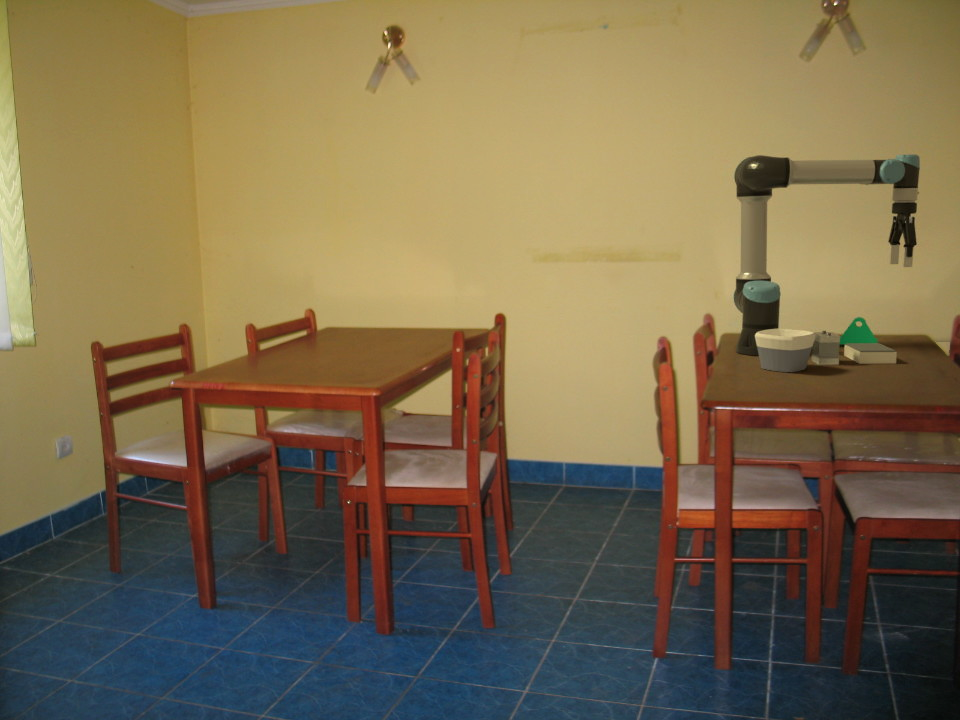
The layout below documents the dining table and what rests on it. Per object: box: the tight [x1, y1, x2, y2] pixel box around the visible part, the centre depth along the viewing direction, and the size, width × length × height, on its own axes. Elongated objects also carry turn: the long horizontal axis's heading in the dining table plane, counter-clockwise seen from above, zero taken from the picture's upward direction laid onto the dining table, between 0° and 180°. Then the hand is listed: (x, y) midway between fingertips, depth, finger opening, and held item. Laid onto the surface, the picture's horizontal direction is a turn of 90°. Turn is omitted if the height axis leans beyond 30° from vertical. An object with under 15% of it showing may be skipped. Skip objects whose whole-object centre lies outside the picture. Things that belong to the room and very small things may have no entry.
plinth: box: [843, 342, 897, 365], centre depth 283 cm, size 11×15×4 cm
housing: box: [811, 330, 841, 366], centre depth 279 cm, size 6×8×10 cm
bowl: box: [755, 328, 815, 373], centre depth 269 cm, size 15×15×11 cm
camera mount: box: [839, 316, 879, 345], centre depth 308 cm, size 12×8×10 cm, turn 64°
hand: (900, 265), depth 303 cm, fingers open, 13 cm apart
